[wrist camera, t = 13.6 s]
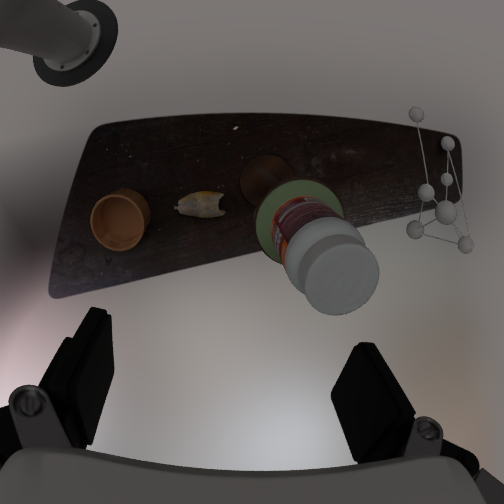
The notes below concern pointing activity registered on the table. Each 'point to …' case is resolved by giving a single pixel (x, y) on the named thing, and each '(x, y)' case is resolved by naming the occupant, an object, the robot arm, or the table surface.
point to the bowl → (120, 219)
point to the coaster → (281, 196)
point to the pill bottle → (323, 255)
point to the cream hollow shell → (201, 204)
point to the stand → (267, 181)
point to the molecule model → (444, 209)
